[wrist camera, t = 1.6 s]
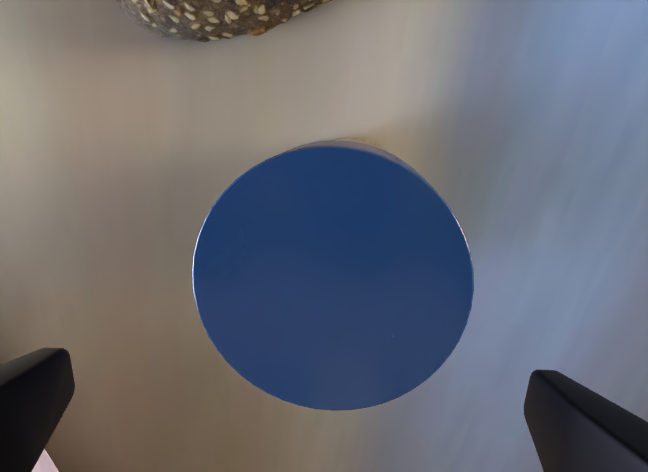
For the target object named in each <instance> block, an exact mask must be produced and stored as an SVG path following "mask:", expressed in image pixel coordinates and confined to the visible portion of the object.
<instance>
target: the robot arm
mask: <svg viewBox="0 0 648 472" xmlns="http://www.w3.org/2000/svg"><path fill="white" fill-rule="evenodd" d="M74 389H75V382H74V376H73V370H72V365H71V359H70V354H69V352H68V351H67V350H66V349H63V348H42V349H39V350H37V351H34V352H32V353H29V354H27V355H24V356H22V357H19V358H16V359H14V360H11V361H9V362H6V363H4V364H1V365H0V472H32V470H33V468H34V466H35V465H36V463H37V461H38V460H39V458H40V456H41V454H42V452H43V450H44V448H45V447H46V445H47V443H48V441H49V439H50V437H51V436H52V434H53V432H54V430H55V428H56V426H57V424H58V423H59V421H60V419H61V417H62V415H63V413H64V412H65V410H66V408H67V406H68V404H69V402H70V401H71V399H72V396H73V394H74ZM524 415H525V419H526V422H527V425H528V428H529V431H530V433H531V436H532V439H533V442H534V445H535V448H536V451H537V453H538V456H539V459H540V462H541V465H542V468H543V471H544V472H648V422H646V421H645V420H643V419H641V418H639V417H638V416H636V415H634V414H632V413H630V412H629V411H627V410H625V409H623V408H622V407H620V406H618V405H616V404H615V403H613V402H611V401H609V400H607V399H606V398H604V397H602V396H600V395H599V394H597V393H595V392H593V391H591V390H590V389H588V388H586V387H584V386H583V385H581V384H579V383H577V382H576V381H574V380H572V379H570V378H568V377H567V376H565V375H563V374H561V373H560V372H558V371H554V370H535V371H533V372H532V374H531V376H530V380H529V384H528V389H527V394H526V398H525V403H524Z"/></svg>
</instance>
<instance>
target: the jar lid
mask: <svg viewBox="0 0 648 472" xmlns="http://www.w3.org/2000/svg"><path fill="white" fill-rule="evenodd" d="M192 275H193V291H194V296H195V301H196V306H197V309H198V312H199V315H200V318H201V321H202V323H203V326H204V328H205V330H206V332H207V334H208V336H209V338H210V339H211V341H212V342H213V344H214V346H215V347H216V349H217V350H218V352H219V353H220V354H221V355H222V356H223V358H224V359H225V360H226V361H227V363H228V364H229V365H230V366H231V367H233V368H234V369H235V370H236V371H237V372H238V373H239V374H240V375H241V376H242V377H244V378H245V379H246V380H248V381H249V382H250V383H252V384H253V385H254V386H256V387H258V388H259V389H261V390H263V391H265V392H266V393H268V394H270V395H272V396H275V397H277V398H279V399H281V400H283V401H287V402H290V403H293V404H296V405H299V406H304V407H309V408H314V409H322V410H353V409H361V408H367V407H371V406H375V405H379V404H383V403H385V402H388V401H390V400H393V399H395V398H398V397H400V396H402V395H404V394H405V393H407V392H409V391H411V390H413V389H414V388H416V387H417V386H419V385H420V384H421V383H423V382H424V381H426V380H427V379H428V378H429V377H430V376H431V375H432V374H434V373H435V372H436V371H437V370H438V369H439V368H440V367H441V366H442V364H443V363H444V362H445V361H446V360H447V358H448V357H449V356H450V355H451V353H452V351H453V350H454V348H455V347H456V345H457V343H458V342H459V340H460V338H461V336H462V333H463V331H464V329H465V327H466V324H467V321H468V318H469V314H470V310H471V306H472V299H473V292H474V272H473V265H472V259H471V253H470V250H469V247H468V244H467V240H466V237H465V235H464V233H463V230H462V228H461V226H460V224H459V222H458V220H457V218H456V217H455V215H454V214H453V212H452V211H451V209H450V208H449V206H448V205H447V203H446V202H445V201H444V200H443V199H442V197H441V196H440V195H439V194H438V193H437V192H436V191H435V190H434V188H433V187H432V186H431V185H430V184H429V183H428V182H427V181H426V180H425V179H424V178H423V177H422V176H421V175H420V174H419V173H418V172H417V171H416V170H414V169H413V168H412V167H411V166H410V165H409V164H407V163H406V162H404V161H403V160H401V159H400V158H398V157H396V156H395V155H393V154H391V153H389V152H387V151H384V150H382V149H380V148H377V147H374V146H371V145H368V144H365V143H359V142H353V141H342V140H329V141H319V142H313V143H309V144H305V145H301V146H298V147H296V148H293V149H291V150H288V151H286V152H283V153H281V154H279V155H276V156H274V157H272V158H269V159H267V160H265V161H263V162H262V163H260V164H258V165H256V166H254V167H253V168H251V169H249V170H248V171H247V172H245V173H244V174H243V175H241V176H240V177H239V178H237V179H236V180H235V181H234V182H233V183H232V184H231V185H230V186H229V187H228V188H227V189H226V190H225V191H224V192H223V193H222V194H221V196H220V197H219V198H218V200H217V201H216V202H215V204H214V205H213V206H212V208H211V210H210V212H209V213H208V215H207V217H206V219H205V221H204V223H203V225H202V228H201V231H200V233H199V236H198V239H197V243H196V247H195V252H194V258H193V270H192Z"/></svg>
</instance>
